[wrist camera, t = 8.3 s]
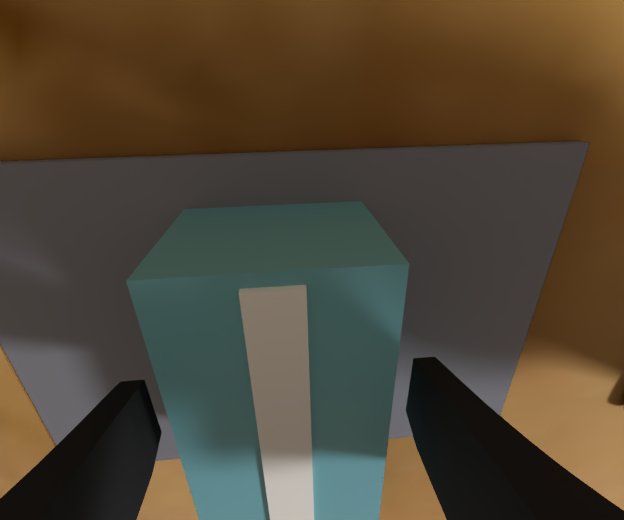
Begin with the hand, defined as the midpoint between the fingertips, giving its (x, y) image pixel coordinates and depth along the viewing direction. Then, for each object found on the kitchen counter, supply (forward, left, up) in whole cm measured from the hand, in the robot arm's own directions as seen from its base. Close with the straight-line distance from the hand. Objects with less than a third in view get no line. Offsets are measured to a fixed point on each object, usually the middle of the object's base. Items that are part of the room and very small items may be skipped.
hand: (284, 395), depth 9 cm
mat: (0, 0, -3) cm, 3 cm away
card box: (0, 0, -3) cm, 3 cm away
